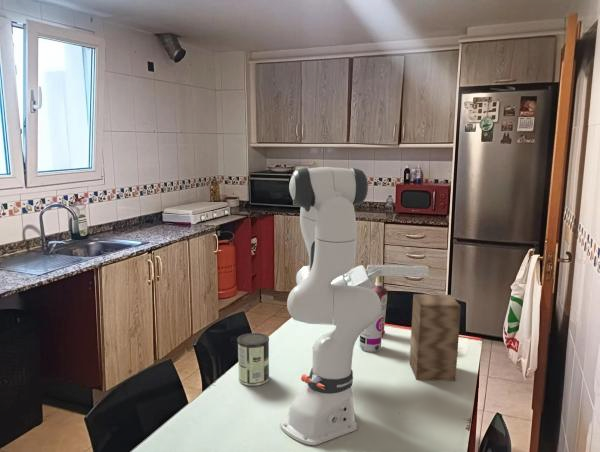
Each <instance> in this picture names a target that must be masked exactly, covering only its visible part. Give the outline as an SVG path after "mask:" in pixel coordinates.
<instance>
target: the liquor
mask: <svg viewBox="0 0 600 452" xmlns="http://www.w3.org/2000/svg"><path fill="white" fill-rule="evenodd" d="M372 290H374V291H375V292H376V293H377V295H378V296H379V299H380V302H381V313H382V336H383V335H385V334H386V331H385V326H386V325H385V322H386V311H387V301H388V291H389V290H388V289H386V288H385V287H383V276H377V277H376V278H375V283H374V286H373V288H372Z"/></svg>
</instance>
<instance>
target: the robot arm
mask: <svg viewBox="0 0 600 452" xmlns="http://www.w3.org/2000/svg"><path fill="white" fill-rule="evenodd" d="M288 188H289V194H290V197H291V200H292V202H294V203H295V204H296V205H297V206H298V207H300V209H299V211H300V213H299V224H300V230H301V231H300V232H301V235H302V238H303V241H304V244H305V247H306V250H307V254H308V259H309V264H306V265H304V266H302V267H301V268H299V270H298V271H297V272H296V275H295V282H296V286H294V287H293V288H292V289H291V291H290V292H289V293H288V296H287V300H286V301H287V302H286V306H287V311H288V313H289V315H290V317H291V318H292V319H293V320H294V321H297V322H301V323H305V324H309V325H326V326H329V325H330V326H335V327H334V329H332V330H331V331H329V332H327V333H324V334H323V335H321V336H319V337H318V338H317V339H316V340H315V341H314V343H313V345H312V367H311V370H310V373H309V375H307V374H305V373H303V374H302V375H301V378H300V380H301V381H302V382H303V383H305V384H306V385H305V386H304V388H303V389H301V391H300V393H298V395H297V396H296V398H294V400H293V401H292V402H291V403H290V406H289V410H288V415H286V416H285V417H283V418H282V419H281V420H280V421H279V427H280V429H281V430H282V431H283V432H284V433H285V434H286V435H288V436H289V437H290V438H292V439H294V440H296V441H297V442H299V443H301V444H305V445H308V446H309V445H310V446H317V445H320V444H323V443H325V442H328V441H331V440H333V439H336V438H339V437H341V436H344V435H347V434H349V433H351V432H354V431H356V430H358V426H357V422H356V414H355V405H354V404H355V403H354V402H355V401H354V396H353V395H354V394H353V390H352V389H353V388H352V386H353V383H354V381H353V380H354V376H353V375H354V374H353V373H354V371H353V370H352V367H353V366H352V364H353V355H354V353H353V352H354V348H355V344H356V342H357V340H358V338H360V334H361V333H362V332H363V331H364V330H365V329H366V328H367V327H368V326H370V325H372V324H373V323H374V322H375V321H376V320H377V319H378V317H379V315H380V311H381V302H380V299H379V296H378V295H377V293H376V292H375V291H374V290H372V288H373V287H374V285H373V282H372V281H374V280H376V277H377V276H379V275H381V274H382V271H381V269H380V268H378V269H376V270H375V271H374V272H372V273H370V274H368V275H367V268H365V266H364V265H357V266H355V264H356V257H357V255H356V254H357V251H356V250H357V220H356V212H355V211H356V210H355V207H354V206H356V205H360V204H362V203H363V202H364V201H365V200H366V198H367V195H368V191H369V190H368V189H369V183H368V177H367V175H366V174H365V173H364V171H363V170H362V169H359V168H353V167H350V168H345V167H344V168H343V167H330V166H320V167H319V166H318V167H309V168H308V167H303V168H298V169H295V170H294V171H293V173H292V174H291V176H290V181H289V186H288Z"/></svg>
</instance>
